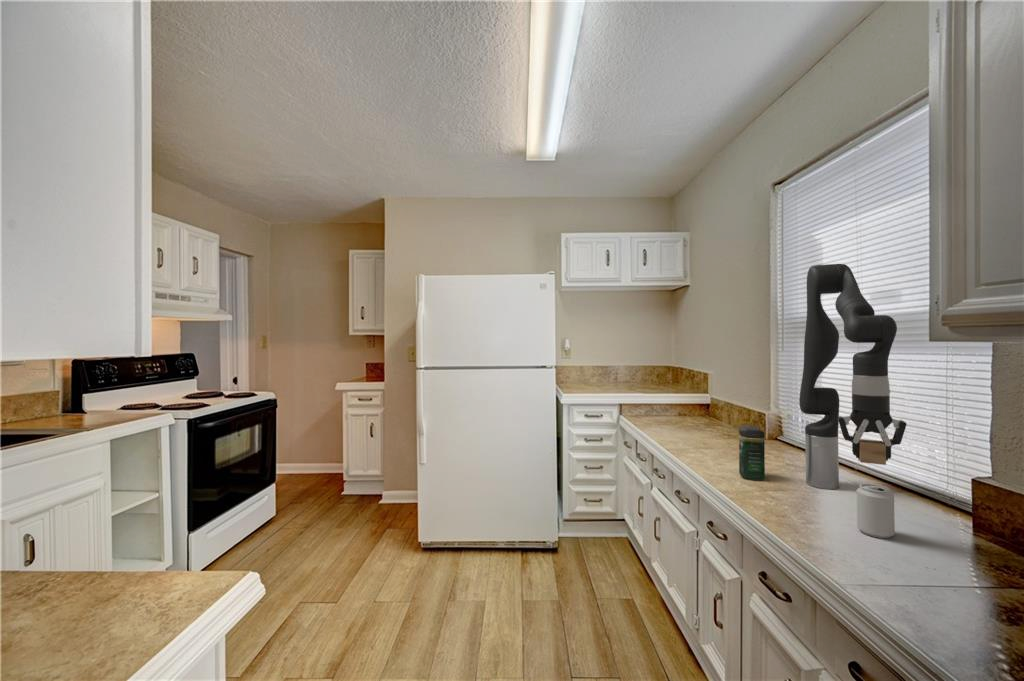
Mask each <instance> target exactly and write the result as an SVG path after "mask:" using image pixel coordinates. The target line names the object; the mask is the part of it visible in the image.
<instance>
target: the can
mask: <svg viewBox="0 0 1024 681" xmlns="http://www.w3.org/2000/svg"><path fill="white" fill-rule="evenodd" d="M891 491H892V490H891V488H889V487H887V486H884V485H880V484H877V483H860V484H859V487H858V488H857V489H856V527H857V528H858V529H859V531H860V532H862V533H863V534H865V535H867V536H871V537H874V538H877V537H878V539H879V538H880V539H890V538H891V537H893V536H894V535H895V532H896V531H895V495H894V494H893V493H892V492H891Z"/></svg>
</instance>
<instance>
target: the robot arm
mask: <svg viewBox="0 0 1024 681" xmlns="http://www.w3.org/2000/svg"><path fill="white" fill-rule="evenodd" d="M829 294H830V295H831V294H838V296H837V297H836V299H835V305H834V306H835V309H836V311H837V313H838V315H839V316H840V317H841V319H842V321H843V334H844V337H845V338H846V339H847V340H848V341H850V342H852V343H857V344H864V343H866V344H867V343H870V344H871V343H873V344H874V345H873V347H871V349H869V350H866V351H860V352H857V353H856V352H855V353H854V354H853V356H852V380H851V413H850V414H849V415H848V416H841V415H839V414H840V395H839V392H838V391H837V389H836V388H832V387H815V385H816V383H817V380H818V379H819V377H820V375H821V374H822V372H824V370H825V369H826V368H827V367H829V365H830V364H831V363H832V361H834V359H835V358H836V357H837V355H838V353H839V343H840V331H839V330H838V328H837V327H836V325H835V324H834V323H833V321H832V320H831V318H830V317H829V316H828V314H827V313H826V310H825V309H824V308H823V307H824V306H823V304H822V300H821V299H822V298H821V297H822V296H821V295H829ZM875 314H876V313H875V309H874V307H872V305H871V304H870V303H869V302H868V300H867V299H866V298H865V297H864V296H863V294H862V292H861V290H860V286H859V284H858V282H857V280H856V277H855V275H854V274H853V270H852V269H851V267H850V266H848V265H847V264H844V263H830V264H829V263H828V264H817V265H811V266H810V267H809V269H808V270H807V276H806V321H805V322H806V323H805V330H804V332H805V333H804V342H803V343H804V344H803V347H804V348H803V370H802V378H801V383H800V392H799V408H800V411H801V412H802V413H803V414H805V415H806V414H807V415H814V416H815V415H816V416H817V415H818V416H820V415H821V416H823V417H822V418H821V419H820V420H818V421H815V422H812V423H811V422H810V423H808V424H806V425H805V428H804V432H805V433H804V438H805V440H804V442H805V448H804V449H805V483H806V484H807V485H808V486H810V487H811V486H812V487H814V488H818V489H826V490H836V489H839V488H840V475H839V474H840V473H839V472H840V471H839V468H840V467H839V466H840V465H839V464H840V462H839V459H840V458H839V428H840V431H841V433H842V436H843V438H844V440H845V441H849V442H851V445H852V447H851V448H852V449H851V450H852V454H853V456H855V458H857V459H858V458H860V444H859V440H860V439H862V437H863V435H864V433H875V434H879V437H880V438H881V441H882V442H883V443H884V444H885V445H886V462H888V461H889V460H891V459H892V446H895V445H901V444H902V441H903V437H904V434H905V430H906V428H907V425H908V424H907V422H906V421H904V420H903V419H899V420H898V419H894V418H893V417H892V415H891V410H890V409H891V407H890V406H891V403H890V402H891V400H890V398H891V397H890V395H891V394H890V393H891V389H890V380H889V356H890V353H891V350H892V347H893V346H892V345H893V343H894V341H895V339H896V335H897V331H898V326H897V322H896V321H895V319H894V318H893V317H892V316H890V315H886V314H876V315H875ZM850 421H852V423H853V424H854V425H855V426H856V428H855V429H854V432H853V435H850V433H849V431H848V427H847V426H848V425H849V424H850ZM891 424H893V428H894V434H893V436H892V438H889V435H888V433H887V431H886V430H887V428H888V427H889V426H890V425H891Z"/></svg>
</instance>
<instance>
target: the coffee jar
mask: <svg viewBox="0 0 1024 681" xmlns="http://www.w3.org/2000/svg"><path fill="white" fill-rule="evenodd" d="M765 439H766V438H765V431H764V430H763V429H761V428H759V427H758V426H756V425H755V424H753V425H752V424H750V425H749V424H743V425H742V426H740V427H739V428H738V458H739V459H738V466H739V467H738V473H739V474H740V476H741V477H742V478H743V479H747V480H752V481H760V480H762V481H763V480H765V477H766V467H765V465H766V463H765V460H766V459H765V457H766V454H765V450H766V448H765V443H766V442H765Z"/></svg>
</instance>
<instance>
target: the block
mask: <svg viewBox="0 0 1024 681" xmlns="http://www.w3.org/2000/svg"><path fill="white" fill-rule="evenodd" d="M859 444H860V458H857V459H858V460H859V462H860V463H862V464H863V463H864V464H871V465H872V464H873V465H875V464H876V465H882V466H886V465H887V461H886V445H885V444H884V443H883V440H876V439H866V438H865V439H863V438H860V440H859Z"/></svg>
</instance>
